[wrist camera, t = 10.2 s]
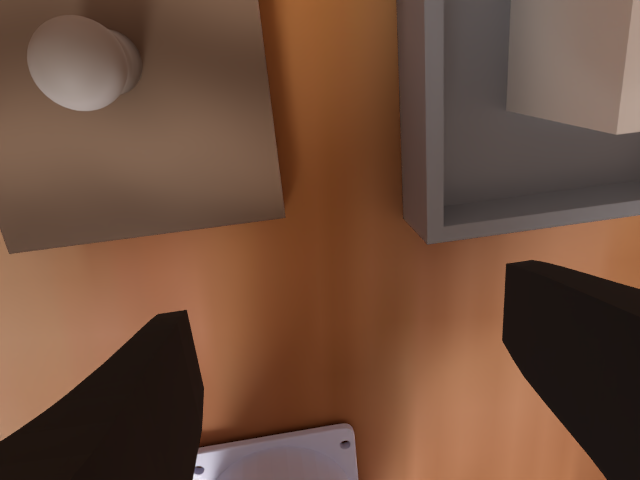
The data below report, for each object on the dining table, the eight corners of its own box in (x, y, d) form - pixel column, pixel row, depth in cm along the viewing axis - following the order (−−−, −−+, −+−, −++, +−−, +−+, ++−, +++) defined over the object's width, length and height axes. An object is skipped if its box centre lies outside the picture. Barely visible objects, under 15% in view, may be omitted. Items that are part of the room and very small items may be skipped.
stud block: (283, 208, 19) (294, 261, 14) (23, 242, 19) (-61, 310, 14) (237, -159, 15) (229, -266, 10) (-106, -138, 14) (-300, -244, 9)
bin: (673, 182, 21) (736, 201, 19) (403, 218, 20) (427, 244, 18) (733, -158, 17) (828, -200, 14) (392, -135, 16) (421, -175, 13)
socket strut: (630, -31, 17) (810, -72, 12) (614, 98, 19) (767, 115, 13) (511, -20, 17) (640, -57, 11) (506, 110, 18) (616, 134, 13)
